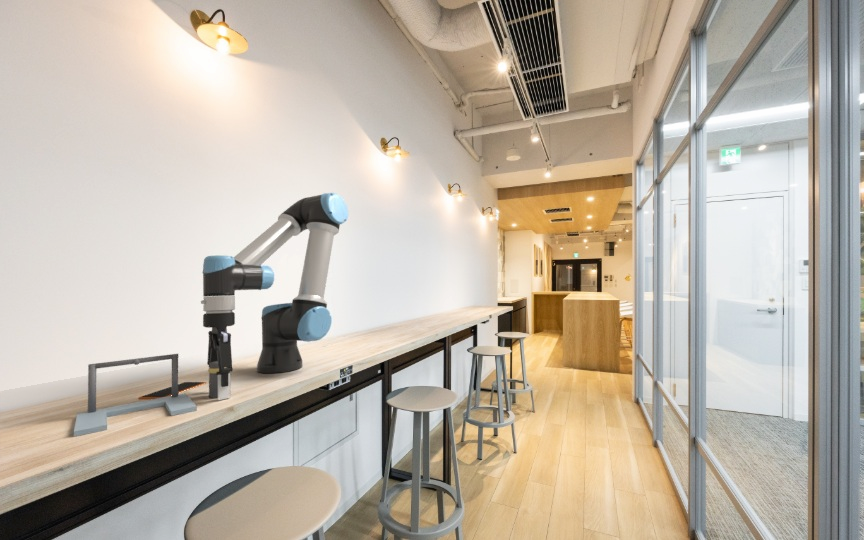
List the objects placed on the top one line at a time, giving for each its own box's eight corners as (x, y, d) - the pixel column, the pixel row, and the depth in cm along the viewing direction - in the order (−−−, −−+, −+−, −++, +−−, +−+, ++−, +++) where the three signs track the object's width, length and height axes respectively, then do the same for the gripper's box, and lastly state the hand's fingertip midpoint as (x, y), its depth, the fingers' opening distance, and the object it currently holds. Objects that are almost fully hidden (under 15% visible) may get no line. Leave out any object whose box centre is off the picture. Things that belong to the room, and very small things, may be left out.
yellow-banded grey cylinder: (228, 391, 103) (228, 359, 103) (232, 395, 99) (233, 362, 100) (206, 395, 100) (207, 362, 100) (210, 399, 96) (211, 365, 96)
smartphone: (207, 384, 114) (207, 381, 114) (162, 400, 98) (162, 397, 98) (184, 384, 115) (184, 381, 115) (136, 400, 99) (136, 397, 99)
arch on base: (185, 397, 99) (185, 352, 100) (196, 410, 87) (196, 359, 88) (77, 417, 85) (77, 364, 86) (73, 436, 73) (74, 375, 74)
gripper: (195, 311, 106) (195, 390, 105) (212, 314, 90) (212, 407, 89) (224, 310, 111) (224, 385, 110) (245, 312, 95) (246, 400, 94)
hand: (219, 395), depth 99 cm, fingers open, 9 cm apart
